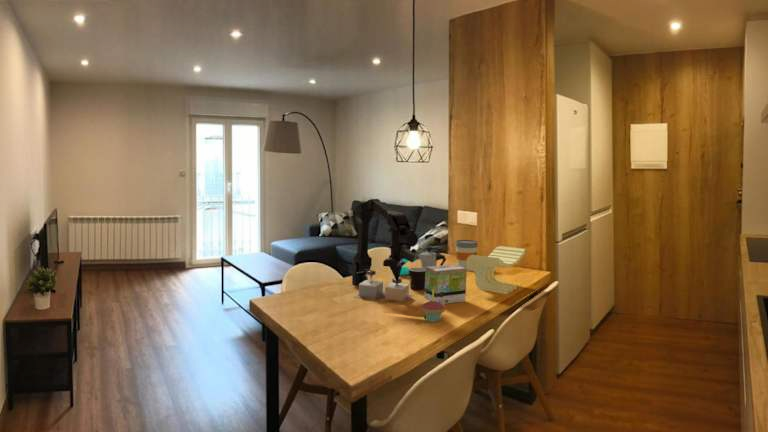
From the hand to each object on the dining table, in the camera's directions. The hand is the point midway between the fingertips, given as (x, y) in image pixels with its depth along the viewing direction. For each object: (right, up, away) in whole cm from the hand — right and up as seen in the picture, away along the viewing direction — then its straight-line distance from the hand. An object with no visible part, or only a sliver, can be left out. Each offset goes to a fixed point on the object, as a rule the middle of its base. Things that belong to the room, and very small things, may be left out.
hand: (397, 279), depth 207 cm
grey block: (-11, -8, +5) cm, 14 cm away
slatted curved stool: (+47, -7, +22) cm, 53 cm away
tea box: (+21, -10, +1) cm, 23 cm away
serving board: (-6, -9, +3) cm, 11 cm away
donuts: (+4, -4, +52) cm, 52 cm away
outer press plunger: (0, -7, +1) cm, 7 cm away
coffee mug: (+10, -8, +18) cm, 22 cm away
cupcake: (+13, -12, -25) cm, 31 cm away
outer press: (0, -8, +1) cm, 8 cm away
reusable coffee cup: (+41, -2, +68) cm, 80 cm away
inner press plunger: (-11, -4, +5) cm, 13 cm away
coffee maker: (+17, -6, +32) cm, 37 cm away
